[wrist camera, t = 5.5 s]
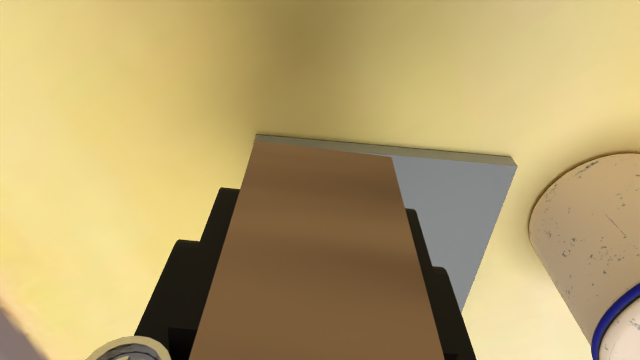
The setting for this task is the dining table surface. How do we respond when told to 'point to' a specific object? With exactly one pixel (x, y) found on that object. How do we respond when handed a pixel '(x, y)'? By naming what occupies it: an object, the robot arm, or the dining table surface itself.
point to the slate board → (442, 200)
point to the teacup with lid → (595, 250)
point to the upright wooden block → (317, 264)
